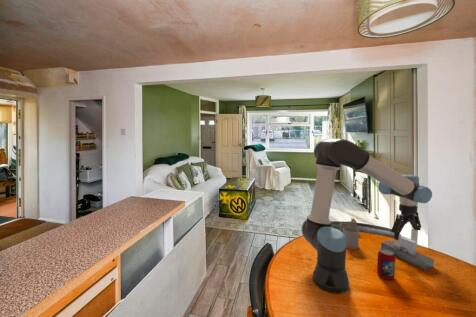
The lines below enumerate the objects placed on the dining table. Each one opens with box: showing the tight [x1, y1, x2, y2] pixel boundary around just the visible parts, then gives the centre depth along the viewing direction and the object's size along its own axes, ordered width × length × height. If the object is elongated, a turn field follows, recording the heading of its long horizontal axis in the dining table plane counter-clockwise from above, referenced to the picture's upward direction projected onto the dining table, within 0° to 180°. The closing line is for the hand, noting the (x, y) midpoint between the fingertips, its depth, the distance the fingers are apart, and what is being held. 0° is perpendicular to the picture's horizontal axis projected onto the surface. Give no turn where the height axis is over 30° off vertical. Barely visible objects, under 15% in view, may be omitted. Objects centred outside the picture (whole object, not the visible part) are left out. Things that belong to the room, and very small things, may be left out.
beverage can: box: [376, 248, 396, 280], centre depth 101 cm, size 7×7×12 cm
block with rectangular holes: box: [380, 240, 435, 271], centre depth 117 cm, size 7×22×4 cm, turn 20°
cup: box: [343, 227, 360, 250], centre depth 131 cm, size 8×8×10 cm
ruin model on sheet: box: [338, 218, 358, 233], centre depth 148 cm, size 11×3×10 cm, turn 100°
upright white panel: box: [395, 235, 418, 256], centre depth 116 cm, size 9×3×10 cm, turn 20°
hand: (405, 243), depth 116 cm, fingers open, 13 cm apart
